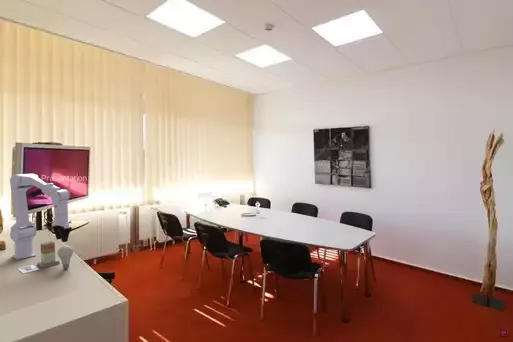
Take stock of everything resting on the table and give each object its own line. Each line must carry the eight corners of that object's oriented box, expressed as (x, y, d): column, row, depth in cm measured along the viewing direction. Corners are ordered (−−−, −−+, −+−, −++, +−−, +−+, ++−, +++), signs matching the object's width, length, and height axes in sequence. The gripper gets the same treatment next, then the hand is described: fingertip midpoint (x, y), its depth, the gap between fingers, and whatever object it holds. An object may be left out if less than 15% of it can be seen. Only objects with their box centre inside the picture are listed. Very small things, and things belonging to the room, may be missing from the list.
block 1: (40, 252, 137) (40, 243, 137) (51, 250, 141) (51, 241, 141) (43, 254, 134) (43, 245, 134) (54, 251, 138) (54, 242, 138)
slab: (37, 264, 137) (37, 261, 137) (54, 260, 143) (54, 257, 143) (42, 268, 133) (42, 264, 133) (59, 263, 138) (59, 260, 138)
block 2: (41, 261, 137) (41, 252, 137) (52, 258, 141) (51, 250, 141) (44, 263, 135) (44, 254, 134) (55, 260, 138) (55, 251, 138)
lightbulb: (66, 271, 128) (65, 248, 128) (54, 271, 129) (54, 247, 129) (77, 266, 134) (76, 244, 134) (66, 266, 135) (65, 243, 135)
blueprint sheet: (16, 268, 132) (16, 268, 132) (32, 264, 137) (32, 264, 137) (22, 273, 126) (22, 273, 126) (39, 269, 131) (39, 269, 131)
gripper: (46, 213, 143) (47, 239, 143) (56, 216, 134) (57, 244, 135) (62, 211, 149) (63, 236, 149) (73, 214, 140) (74, 241, 140)
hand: (62, 240), depth 142 cm, fingers open, 7 cm apart
